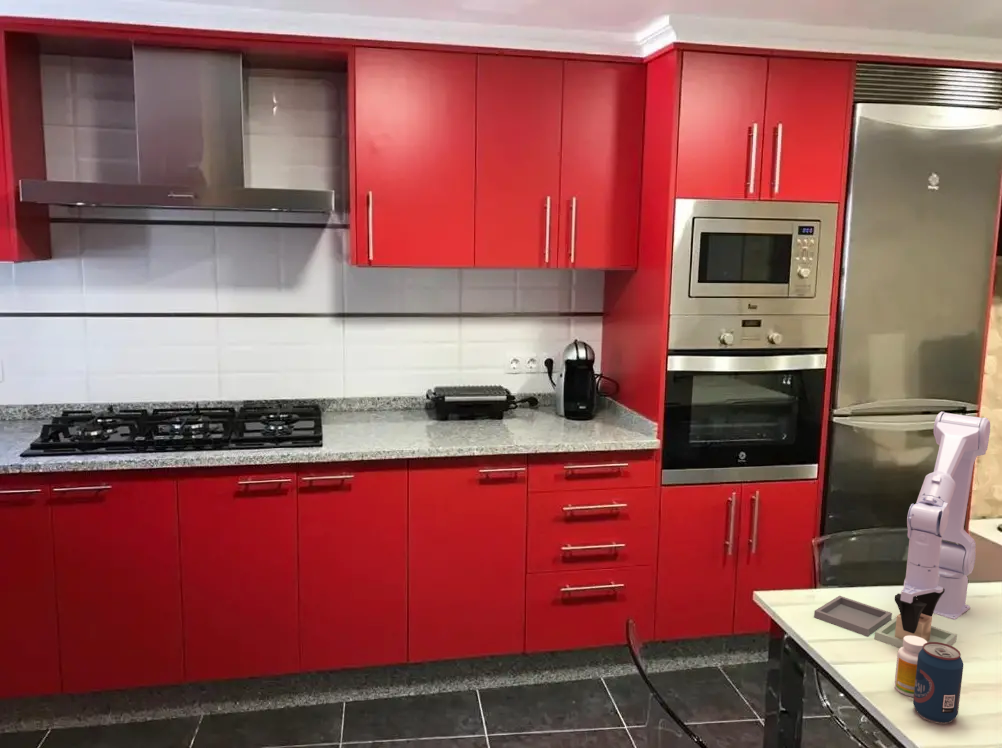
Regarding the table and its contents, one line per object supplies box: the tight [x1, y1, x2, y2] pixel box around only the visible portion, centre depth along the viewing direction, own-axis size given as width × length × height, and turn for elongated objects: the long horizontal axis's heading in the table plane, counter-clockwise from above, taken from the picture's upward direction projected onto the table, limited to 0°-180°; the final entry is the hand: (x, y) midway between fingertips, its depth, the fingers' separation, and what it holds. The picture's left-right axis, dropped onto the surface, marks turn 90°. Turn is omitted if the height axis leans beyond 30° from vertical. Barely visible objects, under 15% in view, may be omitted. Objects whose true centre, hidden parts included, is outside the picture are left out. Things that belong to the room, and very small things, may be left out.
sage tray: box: [873, 616, 958, 649], centre depth 172 cm, size 12×12×2 cm
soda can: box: [912, 642, 964, 724], centre depth 145 cm, size 7×7×12 cm
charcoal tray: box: [813, 595, 893, 638], centre depth 181 cm, size 12×12×2 cm
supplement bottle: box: [894, 635, 927, 698], centre depth 152 cm, size 5×5×10 cm
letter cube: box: [895, 613, 933, 642], centre depth 171 cm, size 5×5×5 cm
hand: (916, 625), depth 171 cm, fingers open, 7 cm apart
